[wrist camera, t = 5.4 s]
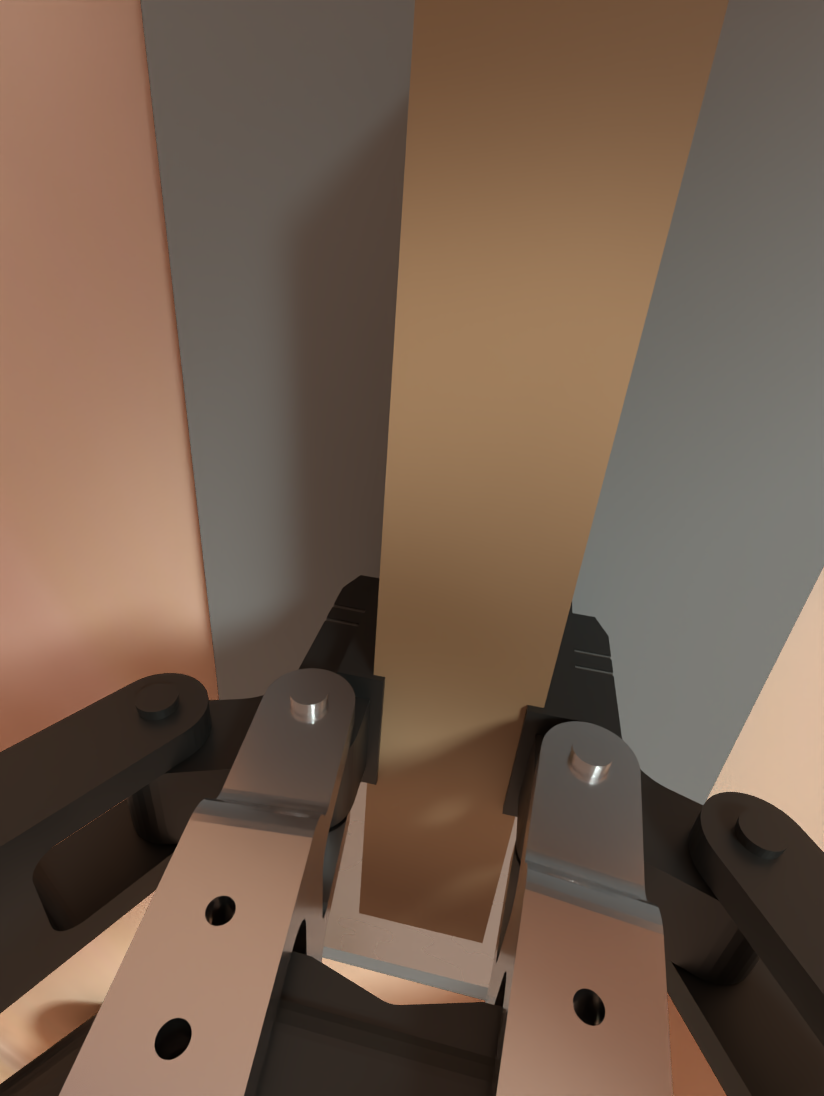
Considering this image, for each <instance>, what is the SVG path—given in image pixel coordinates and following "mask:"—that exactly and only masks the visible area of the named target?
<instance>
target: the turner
mask: <svg viewBox="0 0 824 1096" xmlns="http://www.w3.org/2000/svg"><path fill="white" fill-rule="evenodd" d="M728 2H729V0H415V8H414V25H413V41H412V57H411V74H410V90H409V106H408V122H407V139H406V155H405V171H404V188H403V204H402V220H401V236H400V253H399V269H398V285H397V302H396V318H395V334H394V350H393V367H392V383H391V399H390V416H389V432H388V448H387V464H386V481H385V497H384V513H383V530H382V546H381V562H380V578H379V595H378V611H377V627H376V644H375V660H374V675H377V676H382V677H385V688H384V701H383V714H382V728H381V741H380V754H379V768H378V780H377V784H376V785H374V784H369V783H365V782H361V783H360V786H359V789H358V792H357V795H356V798H355V801H354V804H353V806H352V808H351V810H350V822H349V826H348V831H347V836H346V840H345V845H344V849H343V854H342V859H341V863H340V868H339V873H338V877H337V882H336V887H335V891H334V896H333V901H332V905H331V910H330V915H329V919H328V924H327V929H326V934H325V940H324V946H325V947H329V948H333V949H337V950H341V951H345V952H349V953H353V954H357V955H360V956H364V957H368V958H372V959H376V960H380V961H384V962H388V963H392V964H396V965H400V966H404V967H408V968H412V969H416V970H420V971H424V972H428V973H432V974H436V975H439V976H443V977H447V978H451V979H455V980H459V981H463V982H467V983H471V984H475V985H479V986H483V987H487V988H488V987H489V983H490V977H491V972H492V966H493V961H494V955H495V949H496V943H497V937H498V931H499V925H500V919H501V913H502V907H503V901H504V895H505V890H506V884H507V878H508V872H509V866H510V860H511V856H512V852H513V848H514V845H515V841H516V833H517V817H515V816H510V815H506V814H502V811H503V804H504V800H505V796H506V792H507V788H508V784H509V780H510V776H511V771H512V767H513V763H514V759H515V755H516V751H517V747H518V743H519V738H520V734H521V730H522V726H523V722H524V718H525V714H526V710H527V705H532V706H537V707H542V708H544V706H545V702H546V698H547V694H548V690H549V687H550V683H551V679H552V675H553V671H554V667H555V664H556V660H557V656H558V652H559V648H560V644H561V641H562V637H563V633H564V629H565V625H566V622H567V618H568V614H569V610H570V606H571V602H572V599H573V595H574V591H575V587H576V583H577V579H578V576H579V572H580V568H581V564H582V560H583V557H584V553H585V549H586V545H587V541H588V537H589V534H590V530H591V526H592V522H593V518H594V514H595V511H596V507H597V503H598V499H599V495H600V492H601V488H602V484H603V480H604V476H605V472H606V469H607V465H608V461H609V457H610V453H611V449H612V446H613V442H614V438H615V434H616V430H617V427H618V423H619V419H620V415H621V411H622V407H623V404H624V400H625V396H626V392H627V388H628V384H629V381H630V377H631V373H632V369H633V365H634V362H635V358H636V354H637V350H638V346H639V342H640V339H641V335H642V331H643V327H644V323H645V319H646V316H647V312H648V308H649V304H650V300H651V296H652V293H653V289H654V285H655V281H656V277H657V274H658V270H659V266H660V262H661V258H662V254H663V251H664V247H665V243H666V239H667V235H668V231H669V228H670V224H671V220H672V216H673V212H674V209H675V205H676V201H677V197H678V193H679V189H680V186H681V182H682V178H683V174H684V170H685V166H686V163H687V159H688V155H689V151H690V147H691V144H692V140H693V136H694V132H695V128H696V124H697V121H698V117H699V113H700V109H701V105H702V101H703V98H704V94H705V90H706V86H707V82H708V79H709V75H710V71H711V67H712V63H713V59H714V56H715V52H716V48H717V44H718V40H719V36H720V33H721V29H722V25H723V21H724V17H725V14H726V10H727V6H728Z"/></svg>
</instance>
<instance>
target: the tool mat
mask: <svg viewBox="0 0 824 1096" xmlns="http://www.w3.org/2000/svg"><path fill="white" fill-rule="evenodd" d="M140 1H141V10H142V19H143V28H144V37H145V45H146V54H147V63H148V72H149V81H150V90H151V99H152V108H153V117H154V126H155V134H156V143H157V152H158V161H159V170H160V179H161V188H162V197H163V206H164V214H165V223H166V232H167V241H168V250H169V259H170V268H171V277H172V286H173V294H174V303H175V312H176V321H177V330H178V339H179V348H180V357H181V366H182V375H183V383H184V392H185V401H186V410H187V419H188V428H189V437H190V446H191V455H192V463H193V472H194V481H195V490H196V499H197V508H198V517H199V526H200V535H201V543H202V552H203V561H204V570H205V579H206V588H207V597H208V606H209V615H210V624H211V632H212V641H213V650H214V659H215V668H216V677H217V686H218V695H219V700H228V699H245V698H253V697H258V696H262V695H264V693H265V692H266V690H267V688H268V687H269V686H270V685H271V684H272V683H273V682H274V681H275V680H276V679H277V678H279V677H281V676H282V675H284V674H287V673H289V672H292V671H295V670H298V669H299V667H300V665H301V664H302V662H303V660H304V658H305V656H306V654H307V652H308V651H309V649H310V647H311V645H312V643H313V641H314V640H315V638H316V636H317V634H318V632H319V630H320V629H321V627H322V625H323V623H324V621H326V618H327V616H328V614H329V612H330V610H331V608H332V607H333V606H334V603H335V601H336V599H337V597H338V595H339V593H340V592H341V590H342V588H343V587H344V586H346V585H347V584H348V583H350V582H351V581H353V580H354V579H356V578H357V577H358V576H360V575H363V576H369V577H375V578H380V562H381V546H382V530H383V513H384V497H385V481H386V464H387V448H388V432H389V416H390V399H391V383H392V367H393V350H394V334H395V318H396V302H397V285H398V269H399V253H400V236H401V220H402V204H403V188H404V171H405V155H406V139H407V122H408V106H409V90H410V74H411V57H412V41H413V25H414V8H415V0H140ZM823 567H824V0H729V2H728V6H727V10H726V14H725V17H724V21H723V25H722V29H721V33H720V36H719V40H718V44H717V48H716V52H715V56H714V59H713V63H712V67H711V71H710V75H709V79H708V82H707V86H706V90H705V94H704V98H703V101H702V105H701V109H700V113H699V117H698V121H697V124H696V128H695V132H694V136H693V140H692V144H691V147H690V151H689V155H688V159H687V163H686V166H685V170H684V174H683V178H682V182H681V186H680V189H679V193H678V197H677V201H676V205H675V209H674V212H673V216H672V220H671V224H670V228H669V231H668V235H667V239H666V243H665V247H664V251H663V254H662V258H661V262H660V266H659V270H658V274H657V277H656V281H655V285H654V289H653V293H652V296H651V300H650V304H649V308H648V312H647V316H646V319H645V323H644V327H643V331H642V335H641V339H640V342H639V346H638V350H637V354H636V358H635V362H634V365H633V369H632V373H631V377H630V381H629V384H628V388H627V392H626V396H625V400H624V404H623V407H622V411H621V415H620V419H619V423H618V427H617V430H616V434H615V438H614V442H613V446H612V449H611V453H610V457H609V461H608V465H607V469H606V472H605V476H604V480H603V484H602V488H601V492H600V495H599V499H598V503H597V507H596V511H595V514H594V518H593V522H592V526H591V530H590V534H589V537H588V541H587V545H586V549H585V553H584V557H583V560H582V564H581V568H580V572H579V576H578V579H577V583H576V587H575V591H574V595H573V599H572V612H573V613H575V614H581V615H586V616H592V617H595V618H596V619H597V621H598V622H599V623H600V625H601V626H602V628H603V629H604V630H605V632H606V633H607V635H608V636H609V644H610V651H611V659H612V666H613V676H614V682H615V689H616V697H617V704H618V712H619V719H620V727H621V735H622V740H623V741H624V742H625V743H626V744H627V745H628V746H629V747H630V748H631V749H632V751H633V752H634V754H635V756H636V757H637V760H638V762H639V765H640V769H641V770H642V771H643V772H644V773H645V774H646V775H648V776H649V777H650V778H651V779H653V780H654V781H656V782H657V783H659V784H660V785H662V786H664V787H666V788H668V789H670V790H672V791H674V792H676V793H678V794H680V795H682V796H685V797H687V798H689V799H691V800H693V801H695V802H697V803H699V804H701V805H704V803H705V802H706V800H707V798H708V796H709V794H710V792H711V790H712V788H713V786H714V784H715V782H716V780H717V778H718V776H719V774H720V772H721V770H722V768H723V766H724V764H725V762H726V760H727V758H728V756H729V754H730V752H731V750H732V748H733V746H734V744H735V742H736V740H737V738H738V736H739V734H740V732H741V730H742V728H743V726H744V724H745V722H746V720H747V718H748V716H749V714H750V712H751V710H752V708H753V706H754V704H755V702H756V700H757V698H758V696H759V694H760V692H761V690H762V688H763V686H764V684H765V682H766V680H767V678H768V676H769V674H770V672H771V670H772V668H773V666H774V664H775V662H776V660H777V658H778V656H779V654H780V652H781V650H782V648H783V646H784V644H785V642H786V640H787V638H788V636H789V634H790V632H791V630H792V628H793V626H794V624H795V622H796V620H797V618H798V617H799V615H800V613H801V611H802V609H803V607H804V605H805V603H806V601H807V599H808V597H809V595H810V593H811V591H812V589H813V587H814V585H815V583H816V581H817V579H818V577H819V575H820V573H821V571H822V569H823ZM322 957H323V958H327V959H331V960H334V961H338V962H342V963H346V964H349V965H353V966H357V967H361V968H365V969H368V970H372V971H376V972H380V973H383V974H387V975H391V976H395V977H398V978H402V979H406V980H410V981H414V982H417V983H421V984H425V985H429V986H432V987H436V988H440V989H444V990H447V991H451V992H455V993H459V994H463V995H466V996H470V997H474V998H478V999H481V1000H485V1001H486V997H487V992H488V988H487V987H483V986H479V985H475V984H471V983H467V982H463V981H459V980H455V979H451V978H447V977H443V976H439V975H436V974H432V973H428V972H424V971H420V970H416V969H412V968H408V967H404V966H400V965H396V964H392V963H388V962H384V961H380V960H376V959H372V958H368V957H364V956H360V955H357V954H353V953H349V952H345V951H341V950H337V949H333V948H329V947H325V946H324V947H323V955H322Z"/></svg>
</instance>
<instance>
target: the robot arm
mask: <svg viewBox="0 0 824 1096" xmlns="http://www.w3.org/2000/svg"><path fill="white" fill-rule="evenodd" d="M378 595H379V578H375V577H369V576H363V575H360V576H358V577H357V578H356V579H354V580H353V581H351V582H350V583H348V584H347V585H346V586H344V587H343V588H342V590H341V592H340V593H339V595H338V597H337V599H336V601H335V603H334V606H333V607H332V608H331V610H330V612H329V614H328V616H327V618H326V621H324V623H323V625H322V627H321V629H320V630H319V632H318V634H317V636H316V638H315V640H314V641H313V643H312V645H311V647H310V649H309V651H308V652H307V654H306V656H305V658H304V660H303V662H302V664H301V665H300V667H299V669H298V670H295V671H292V672H289V673H287V674H284V675H282V676H281V677H279V678H277V679H276V680H275V681H274V682H273V683H272V684H271V685H270V686H269V687H268V688H267V690H266V692H265V693H264V695H262V696H258V697H253V698H245V699H228V700H209V699H208V694H207V691H206V689H205V687H204V686H203V685H202V684H201V683H200V682H199V681H198V680H196V679H195V678H192V677H190V676H187V675H183V674H176V673H164V674H157V675H152V676H148V677H145V678H142V679H140V680H138V681H135V682H133V683H131V684H129V685H127V686H126V687H124V688H122V689H120V690H118V691H116V692H114V693H112V694H110V695H108V696H107V697H105V698H103V699H101V700H99V701H97V702H95V703H93V704H91V705H89V706H88V707H86V708H84V709H82V710H80V711H78V712H76V713H74V714H72V715H70V716H69V717H67V718H65V719H63V720H61V721H59V722H57V723H55V724H53V725H51V726H49V727H48V728H46V729H44V730H42V731H40V732H38V733H36V734H34V735H32V736H30V737H29V738H27V739H25V740H23V741H21V742H19V743H17V744H15V745H13V746H11V747H10V748H8V749H6V750H4V751H2V752H0V1013H1V1012H3V1011H4V1010H5V1009H6V1008H8V1007H9V1006H10V1005H11V1004H13V1003H14V1002H15V1001H16V1000H18V999H19V998H20V997H22V996H23V995H24V994H25V993H27V992H28V991H29V990H30V989H32V988H33V987H34V986H35V985H37V984H38V983H39V982H40V981H42V980H43V979H44V978H45V977H47V976H48V975H49V974H50V973H52V972H53V971H54V970H56V969H57V968H58V967H59V966H61V965H62V964H63V963H64V962H66V961H67V960H68V959H69V958H71V957H72V956H73V955H74V954H76V953H77V952H78V951H79V950H81V949H82V948H83V947H84V946H86V945H87V944H88V943H89V942H91V941H92V940H93V939H95V938H96V937H97V936H98V935H100V934H101V933H102V932H103V931H105V930H106V929H107V928H108V927H110V926H111V925H112V924H113V923H115V922H116V921H117V920H118V919H120V918H121V917H122V916H123V915H125V914H126V913H127V912H128V911H130V910H131V909H132V908H134V907H135V906H136V905H137V904H139V903H140V902H141V901H142V900H144V899H145V898H146V897H147V896H149V895H150V894H151V893H152V892H154V891H155V890H156V891H155V893H154V895H153V898H152V900H151V902H150V904H149V906H148V908H147V910H146V912H145V914H144V917H143V919H142V921H141V923H140V925H139V927H138V929H137V931H136V933H135V936H134V938H133V940H132V942H131V944H130V946H129V948H128V950H127V952H126V955H125V957H124V959H123V961H122V963H121V965H120V967H119V969H118V972H117V974H116V976H115V978H114V980H113V982H112V984H111V986H110V988H109V991H108V993H107V995H106V997H105V999H104V1001H103V1003H102V1005H101V1007H100V1010H99V1012H98V1013H97V1014H96V1015H94V1016H93V1017H91V1018H90V1019H89V1020H87V1021H86V1022H85V1023H83V1024H82V1025H81V1026H79V1027H78V1028H76V1029H75V1030H74V1031H72V1032H71V1033H70V1034H68V1035H67V1036H65V1037H64V1038H63V1039H61V1040H60V1041H59V1042H57V1043H56V1044H55V1045H53V1046H52V1047H50V1048H49V1049H48V1050H46V1051H45V1052H44V1053H42V1054H41V1055H40V1056H38V1057H37V1058H35V1059H34V1060H33V1061H31V1062H30V1063H29V1064H27V1065H26V1066H24V1067H23V1068H22V1069H20V1070H19V1071H18V1072H16V1073H15V1074H14V1075H12V1076H11V1077H9V1078H8V1079H7V1080H5V1081H4V1082H3V1083H1V1084H0V1096H673V1084H672V1068H671V1051H670V1034H669V1017H668V1001H667V992H668V994H669V996H670V997H671V999H672V1001H673V1003H674V1004H675V1006H676V1008H677V1010H678V1011H679V1013H680V1015H681V1017H682V1018H683V1020H684V1022H685V1024H686V1025H687V1027H688V1029H689V1031H690V1032H691V1034H692V1036H693V1037H694V1039H695V1041H696V1043H697V1044H698V1046H699V1048H700V1050H701V1051H702V1053H703V1055H704V1057H705V1058H706V1060H707V1062H708V1064H709V1065H710V1067H711V1069H712V1070H713V1072H714V1074H715V1076H716V1077H717V1079H718V1081H719V1083H720V1084H721V1086H722V1088H723V1090H724V1091H725V1093H726V1095H727V1096H824V852H823V851H822V850H821V849H820V848H819V847H818V846H817V845H816V844H815V843H814V841H813V840H812V839H811V838H810V837H809V836H808V835H807V834H806V833H805V832H804V831H803V830H802V828H801V827H800V826H799V825H798V824H797V823H796V822H795V821H794V820H793V819H791V818H790V817H789V816H788V815H786V814H785V813H784V812H783V811H781V810H780V809H778V808H777V807H775V806H774V805H772V804H770V803H768V802H766V801H764V800H762V799H759V798H757V797H755V796H751V795H748V794H744V793H738V792H724V793H719V794H716V795H713V796H712V797H710V798H709V799H708V800H707V801H706V802H705V803H704V805H701V804H699V803H697V802H695V801H693V800H691V799H689V798H687V797H685V796H682V795H680V794H678V793H676V792H674V791H672V790H670V789H668V788H666V787H664V786H662V785H660V784H659V783H657V782H656V781H654V780H653V779H651V778H650V777H649V776H648V775H646V774H645V773H644V772H643V771H642V770H641V769H640V765H639V762H638V760H637V757H636V756H635V754H634V752H633V751H632V749H631V748H630V747H629V746H628V745H627V744H626V743H625V742H624V741H623V740H622V735H621V727H620V719H619V712H618V704H617V697H616V689H615V682H614V676H613V666H612V659H611V651H610V644H609V636H608V635H607V633H606V632H605V630H604V629H603V628H602V626H601V625H600V623H599V622H598V621H597V619H596V618H595V617H592V616H586V615H581V614H575V613H573V612H572V602H571V606H570V610H569V614H568V618H567V622H566V625H565V629H564V633H563V637H562V641H561V644H560V648H559V652H558V656H557V660H556V664H555V667H554V671H553V675H552V679H551V683H550V687H549V690H548V694H547V698H546V702H545V706H544V708H542V707H537V706H532V705H527V710H526V714H525V718H524V722H523V726H522V730H521V734H520V738H519V743H518V747H517V751H516V755H515V759H514V763H513V767H512V771H511V776H510V780H509V784H508V788H507V792H506V796H505V800H504V804H503V811H502V814H506V815H510V816H515V817H517V833H516V841H515V845H514V848H513V852H512V856H511V860H510V866H509V872H508V878H507V884H506V890H505V895H504V901H503V907H502V913H501V919H500V925H499V931H498V937H497V943H496V949H495V955H494V961H493V966H492V972H491V977H490V983H489V987H488V992H487V997H486V1001H485V1002H474V1003H447V1004H420V1005H393V1004H389V1003H386V1002H384V1001H382V1000H381V999H379V998H377V997H376V996H374V995H373V994H371V993H369V992H368V991H366V990H365V989H363V988H361V987H360V986H358V985H357V984H355V983H353V982H352V981H350V980H349V979H347V978H345V977H344V976H342V975H341V974H339V973H337V972H336V971H334V970H332V969H331V968H329V967H328V966H326V965H324V964H323V963H322V955H323V947H324V940H325V934H326V929H327V924H328V919H329V915H330V910H331V905H332V901H333V896H334V891H335V887H336V882H337V877H338V873H339V868H340V863H341V859H342V854H343V849H344V845H345V840H346V836H347V831H348V826H349V822H350V810H351V808H352V806H353V804H354V801H355V798H356V795H357V792H358V789H359V786H360V783H361V782H365V783H369V784H374V785H376V784H377V780H378V768H379V754H380V741H381V728H382V714H383V701H384V688H385V677H382V676H377V675H374V660H375V644H376V627H377V611H378ZM125 799H126V800H125ZM123 800H124V801H123ZM120 802H121V803H120ZM117 804H118V805H117ZM114 806H115V807H114ZM111 808H112V809H111ZM109 809H110V810H109ZM108 810H109V811H108ZM106 811H107V812H106ZM105 812H106V813H105ZM103 813H104V814H103ZM102 814H103V815H102ZM100 815H101V816H100ZM99 816H100V817H99ZM97 817H98V818H97ZM96 818H97V819H96ZM94 819H95V820H94ZM93 820H94V821H93ZM91 821H92V822H91ZM90 822H91V823H90ZM88 823H89V824H88ZM87 824H88V825H87ZM85 825H86V826H85ZM84 826H85V827H84ZM82 827H83V828H82ZM81 828H82V829H81ZM79 829H80V830H79ZM78 830H79V831H78ZM76 831H77V832H76ZM73 833H74V834H73ZM70 835H71V836H70ZM68 836H69V837H68ZM67 837H68V838H67ZM65 838H66V839H65ZM64 839H65V840H64ZM62 840H63V841H62ZM61 841H62V842H61ZM59 842H60V843H59ZM58 843H59V844H58ZM56 844H57V845H56ZM55 845H56V846H55ZM52 847H53V848H52Z"/></svg>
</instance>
